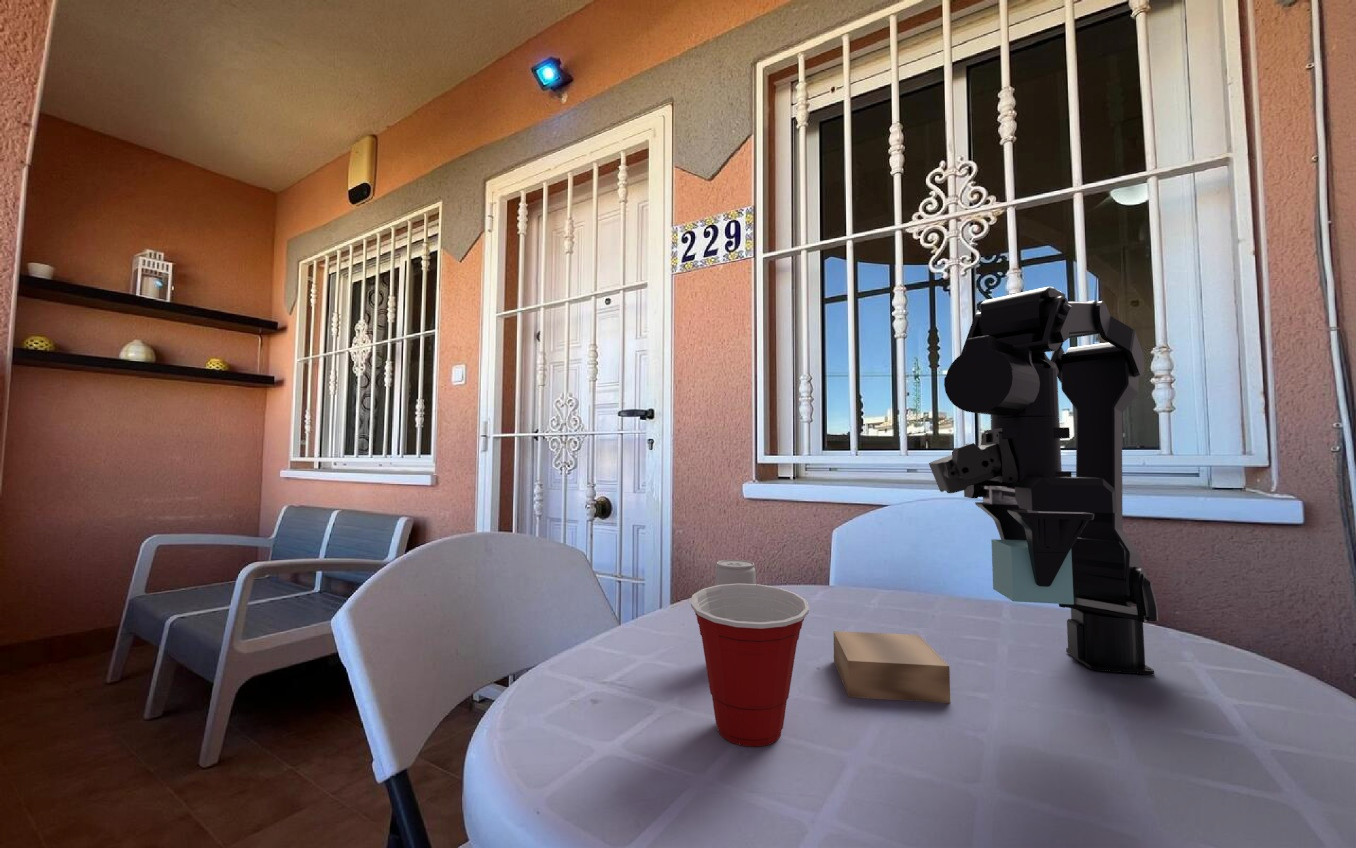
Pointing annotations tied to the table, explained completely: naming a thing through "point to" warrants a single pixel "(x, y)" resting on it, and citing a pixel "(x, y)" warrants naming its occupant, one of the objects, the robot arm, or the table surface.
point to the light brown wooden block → (890, 667)
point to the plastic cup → (749, 656)
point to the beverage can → (735, 572)
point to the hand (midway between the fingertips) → (1030, 579)
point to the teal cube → (1027, 575)
